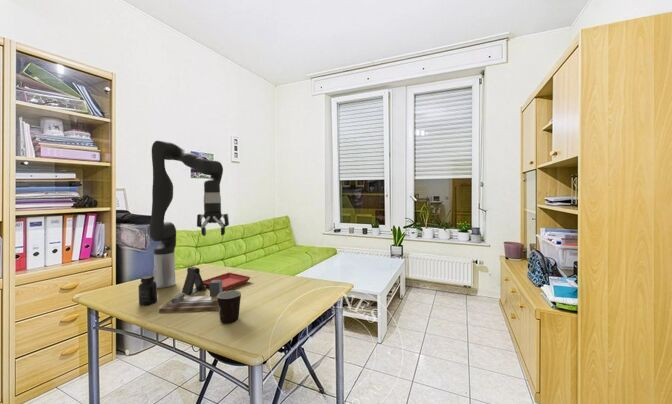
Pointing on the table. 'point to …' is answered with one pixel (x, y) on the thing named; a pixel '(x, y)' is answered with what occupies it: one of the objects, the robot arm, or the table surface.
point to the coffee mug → (229, 306)
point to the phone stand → (193, 281)
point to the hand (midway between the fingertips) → (213, 235)
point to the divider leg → (215, 289)
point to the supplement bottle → (147, 291)
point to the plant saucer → (228, 280)
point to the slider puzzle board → (189, 304)
